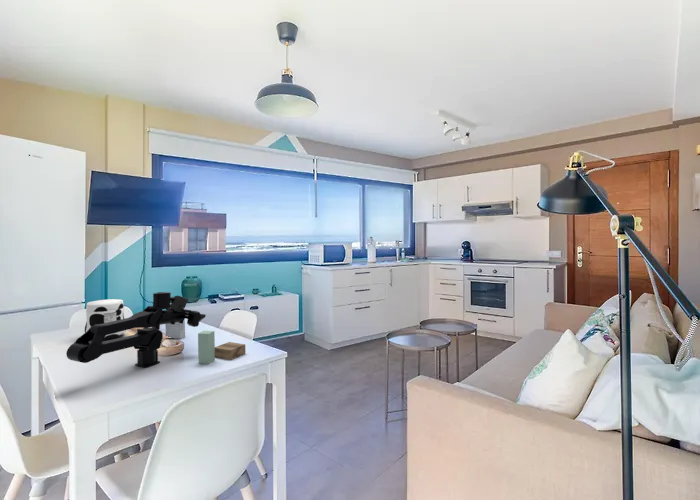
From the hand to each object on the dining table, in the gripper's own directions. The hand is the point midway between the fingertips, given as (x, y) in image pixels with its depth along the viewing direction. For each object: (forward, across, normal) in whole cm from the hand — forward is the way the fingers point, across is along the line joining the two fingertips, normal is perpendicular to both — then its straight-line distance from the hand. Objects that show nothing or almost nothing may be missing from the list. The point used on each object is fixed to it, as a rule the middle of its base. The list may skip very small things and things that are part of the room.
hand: (198, 313), depth 168 cm
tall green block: (-11, -21, +14) cm, 27 cm away
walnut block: (-1, -23, +13) cm, 26 cm away
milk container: (-8, +52, +22) cm, 57 cm away
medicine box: (+7, +21, +17) cm, 28 cm away
